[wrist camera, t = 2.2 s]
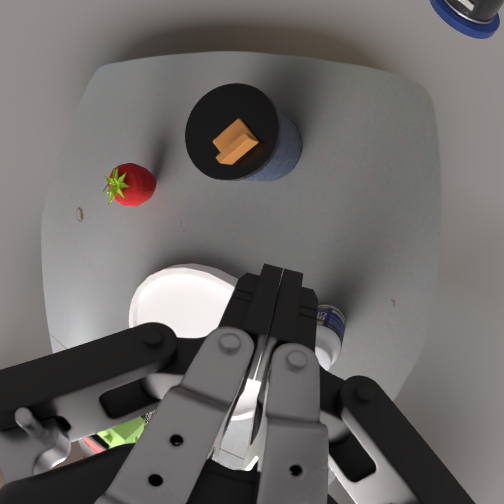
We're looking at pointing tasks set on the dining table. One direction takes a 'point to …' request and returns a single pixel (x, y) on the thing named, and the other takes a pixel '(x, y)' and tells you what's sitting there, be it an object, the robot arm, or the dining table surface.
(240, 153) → the orange l-shaped block
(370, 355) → the dining table surface
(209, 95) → the travel cup
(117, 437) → the teapot
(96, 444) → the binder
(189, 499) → the robot arm
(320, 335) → the pill bottle
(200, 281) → the plate
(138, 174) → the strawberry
